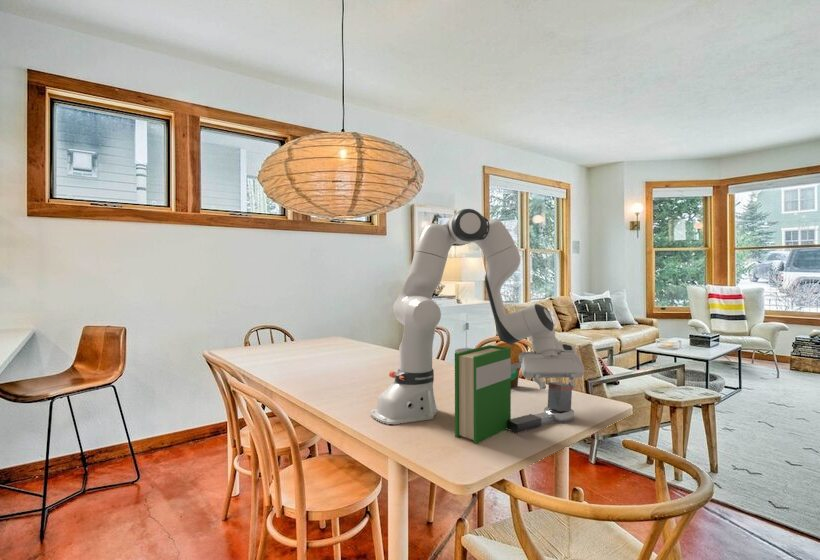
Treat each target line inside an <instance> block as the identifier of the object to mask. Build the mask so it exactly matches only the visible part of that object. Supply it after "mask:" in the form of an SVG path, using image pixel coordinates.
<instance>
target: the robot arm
mask: <svg viewBox="0 0 820 560" xmlns="http://www.w3.org/2000/svg"><path fill="white" fill-rule="evenodd" d="M471 243H475V244H476V245H478V247H479V248H480V249H481V250H482V253H483V256H484V258H485V261H486V264H487V272H486V274H485V275H484V284H485V287H486V288H485V289H486V294H487V296H488V301H489V305H490V308H491V312H492V316H493V320H494V324H495V329H496V333H497V336H498V338H499V340H500V341H501V342H503V343H505V344H508V345H513V344H516V343H518V342H520V341H521V340H525V339H527V338H530V340H531V342H532V343H531V346H532V351H522V352H520V353H519V354H518V362H520V363H521V367H520V370H521V375H522V377H524V379H534V382H535V383H536V384H537V385H538V386H539V389H540V390H546V388H547V385H546V381H542V379H551V378H552V379H553V378H554V379H557V378H559V379H561V378H562V379H564V378H565V379H569V380H570V381H568V384H570V385H572V390H574V389H575V388H576V383H575V380H576V378H578V379H579V378H582V376H583V375H584V373H585V371H586V369H585V366H584V364H583V361H582V358H581V357H580V356H579V354H577V353H576V347H575V346H574V345H571V344H567V343H563V342H561V341H559V340H558V337H556V330H555V327H554V326H555V324H554V320H553V318H552V315H551V312H550V311H549V309H548V308H546V307H545V306H543V305H541V304H537V303H535V304H532V305H529V306H527V307H524V308H522V309H520V310H516V311H514V312H512V313H507V312H506V308H505V306H504V301H503V298H502V294H501V293H502V292H501V290H502V287H503V285H504V284H505V282H506V281H508V280H509V279H510V278H511V277H512V276H513V275H514V274H515V272H517V270H518V269H519V266H520V264H521V255H520V252H519V249H518V247H517V245H516V242H515V240H514V239H513V237H512V236H511V233H510V231H508V229H507V228H506V226H505V224H504V223H503V222H502V221H501V220H498V219H489V220H488V219H487V218H486V217H484V216H483V215H482V214H481V213H480V212H479V211H478V210H475V209H473V208H463V209H461V210H458V211H457V212H455V213H454V214H453V215H452V216H451V217H450V218H449V219H448V220H447V221H446V222H445V223H444V224H440V223H429V224H427V225H426V226H425V227H424V228H423V230H422V232H421V234H420V237H419V239H418V242H417V245H416V247H415V249H414V254H413V257H412V261H411V264H410V267H409V272H408V275H407V277H406V280H405V282H404V284H403V286H402V288H401V290H400V292H399V294H398V297H397V299H395V301H394V303H393V306H392V312H393V315H394V317H395V319H396V320H397V321H398V322H399V324H401V325H403V332H402V338H401V342H400V344H399V346H398V348H399V349H398V351H399V352H398V356H399V357H398V358H399V363H398V365H399V368H398V370H397V372H396V371H394V370H390V371H389V373H388V376H389V377H390V378H393V379H394V381H393V383H391V384H390V385H389V386H388V387H387V388H386V389H385V390H384V391H382V392H381V393H380V394H379V396H378V398H377V405H376V406H377V407H376V408H374V409H371V410H370V413H371V415H370V417H371V418H372V417H373V418H372V419H374V418H375V419H376V420H375V419H374V420H375V421H377V420H378V421H377V422H379V421H380V422H379V423H381V422H383V423H382V424H384V423H386V424H385V425H389V424H393V425H400V423H401V424H407V423H413V422H414V423H415V422H421V421H422V422H423V421H428V420H434V419H435V415H436V414H437V413H438V409H437V403H436V400H435V394H434V381H435V380H434V379H435V377H434V376H435V375H434V372H435V371H434V368H433V345H434V340H435V339H434V338H435V334H436V330H437V326H438V325H439V323H440V321H441V317H442V312H441V309H440V306H439V305H438V304H437V303H436V302H435V301H434V300H433V299H432V297H433V295H434V292H435V291H436V289H437V288H438V287H439V285H440V284H441V282H442V279H443V276H444V271H445V268H446V264H447V259H448V256H449V252H450V250H451V248H452V247H455V246H457V247H459V246H460V247H461V246H465V245H468V244H471Z"/></svg>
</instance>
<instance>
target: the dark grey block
mask: <svg viewBox="0 0 820 560" xmlns="http://www.w3.org/2000/svg"><path fill="white" fill-rule="evenodd" d="M547 386H548V389H547V391H548V392H547V407H548V408H550V409H554V410H557V411H571V409H572V399H573V398H572V397H573V396H572V394H573V392H572V391H573V389H572V385H570V384H569V383H565V382H560V381H553V382H552V381H549V382H548V385H547Z"/></svg>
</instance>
